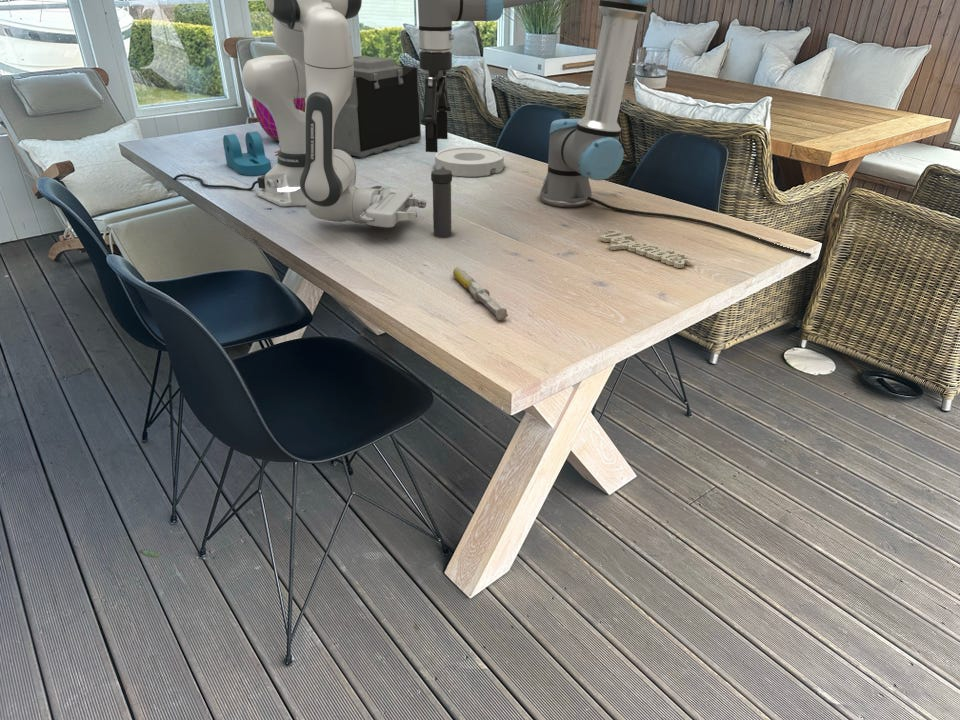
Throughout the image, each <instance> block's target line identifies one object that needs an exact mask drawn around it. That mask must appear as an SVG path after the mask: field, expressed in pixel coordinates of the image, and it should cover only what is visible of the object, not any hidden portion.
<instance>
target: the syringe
mask: <svg viewBox="0 0 960 720" xmlns="http://www.w3.org/2000/svg"><path fill="white" fill-rule="evenodd" d="M452 274H453V277H454V279H455V280H457V281H458V282H459V283H460V285H462V287H464V289H466V290H467V291H468V293H470V295H471V296H472V298H473V300H474V302H477V303H478V302H480V303H482V304H483V305H484V306H485V307H486V308H487V309H488V310H489V311H490V312H491V313H492V314H493V315H494V316H495V317H496V320H497V321H503V320H504V319H506V318H507V317H509V314H508V310H507V308H506V307H502V306H501V305H500V303H498V302H497V301H496V300H494V299H493V298H492V297H491V296H490V295H491V293H490V290H488V289H486V288H483V287H482V286H481V285H480V284H479V283H478V282H477V281H476V280H474V278H473V277H471V275H469V274H468V273H467V272H466V270H465V269H464V268H463V267H462V266H456V267H454V268H453V271H452Z"/></svg>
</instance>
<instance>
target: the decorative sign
mask: <svg viewBox="0 0 960 720" xmlns="http://www.w3.org/2000/svg"><path fill="white" fill-rule="evenodd" d="M600 241H602V242H605V243H609V244H610V245H609V250H610V251H617V250H618V251H619V250H627V251H628V252H634V253H635V254H637V255H640V256H645V257H647V258H649V259H653V260H654V261H660V262H661V263H663V264H666V265H668V266H673V267H674V268H677V269H684V267H685V265H686V266H687V267H688V266H691V259H688V258H685V253H683V252H676V253H675V250H674V249H663V250H660V248H659V246H657V245H656V244H651V243H649V242H643V243H641V242H637V241H633V235H632V234H621V231H620V230H617V229H607V232H606V233H604V234H601V236H600Z"/></svg>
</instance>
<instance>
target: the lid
mask: <svg viewBox="0 0 960 720" xmlns="http://www.w3.org/2000/svg"><path fill="white" fill-rule="evenodd" d="M430 180H431V182H434V183H441V184H442V183H449V182H451V183H452V181H453V175H452V172H451V171H450V170H445V169H438V170H436V169H433V170H431V171H430Z"/></svg>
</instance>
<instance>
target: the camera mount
mask: <svg viewBox="0 0 960 720" xmlns="http://www.w3.org/2000/svg"><path fill="white" fill-rule="evenodd" d="M222 140H223V141H222V143H223V149H224V150H223V151H224V156H225V161H226V165H227V166H228V167H230V168H231V169H232V170H234V171H236V172H237V173H238V174H239V175H244V176H260V175H261V176H262V175H266V173H267V172H269V171H270V170H271V169H272V164H271V159H270V158H268V157H267V156H266V153H265V145H264V141H263V139H262V136H261V134H260V132H258V131H247V132H246V133H245V146H246V152H243V151H242V150H243V149H242V146H241V142H240V140H239V138H238V135H236V134H235V133H231V134H224V135H223V138H222Z"/></svg>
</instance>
